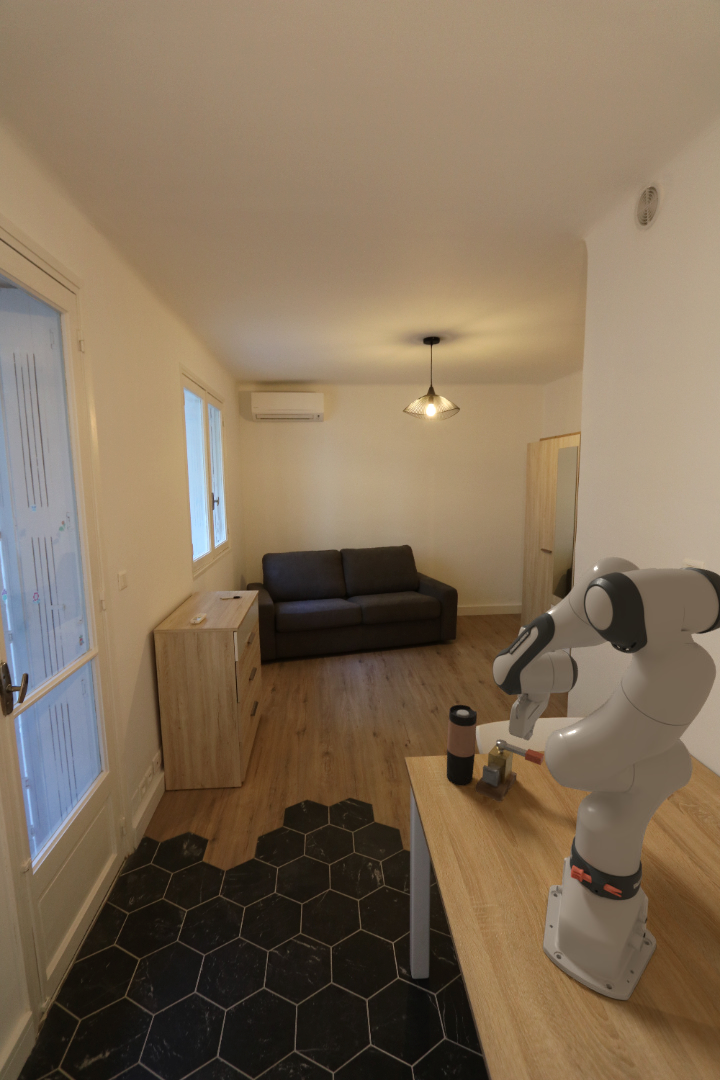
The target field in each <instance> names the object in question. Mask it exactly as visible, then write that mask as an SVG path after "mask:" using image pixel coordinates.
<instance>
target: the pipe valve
mask: <svg viewBox="0 0 720 1080" xmlns="http://www.w3.org/2000/svg"><path fill="white" fill-rule="evenodd" d="M513 755H514V753H513V752H510V751H507V750H500V749H498V748H497V747H496V744H495V745H494V746H493V747H492V748H491V749H490V751H489V752H488V756H487V765H486V764H484V765H483V766H482V776H483V777H481V778H482V781H485V782H486V784H489V785H491V786H493V787H496V788H498V786H499V785H500V783H501V782H502V783H504V784H505V782H506V781H507V780H508V778H509V777H510V776H511V773H512V772H513V771H512V770H513V757H514V756H513Z"/></svg>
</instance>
